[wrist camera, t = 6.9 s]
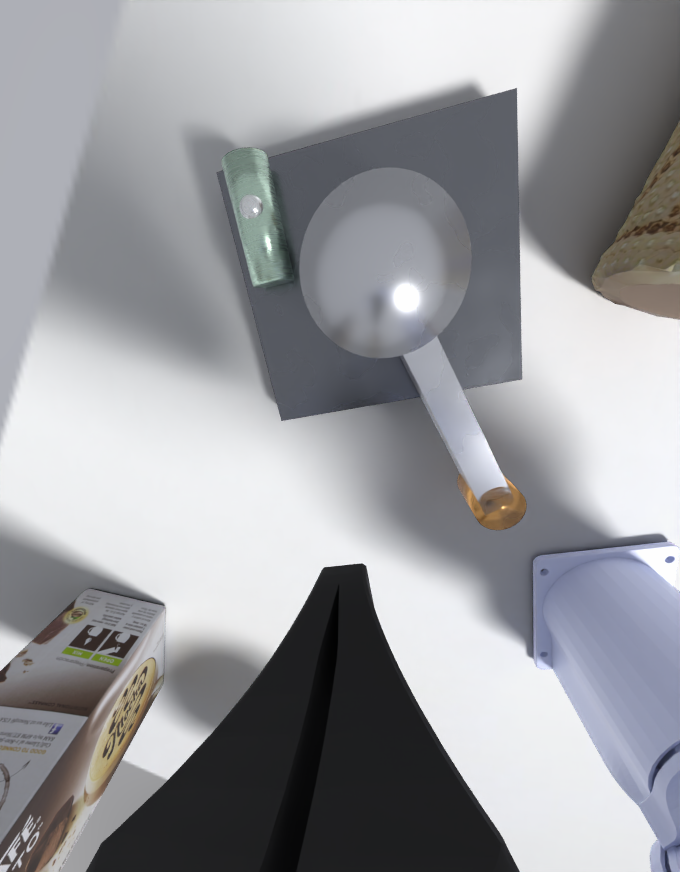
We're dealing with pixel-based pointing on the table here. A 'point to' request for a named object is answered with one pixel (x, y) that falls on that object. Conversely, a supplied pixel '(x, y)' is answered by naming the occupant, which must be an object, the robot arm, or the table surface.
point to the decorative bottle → (648, 244)
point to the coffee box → (72, 721)
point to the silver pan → (404, 306)
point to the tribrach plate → (302, 195)
